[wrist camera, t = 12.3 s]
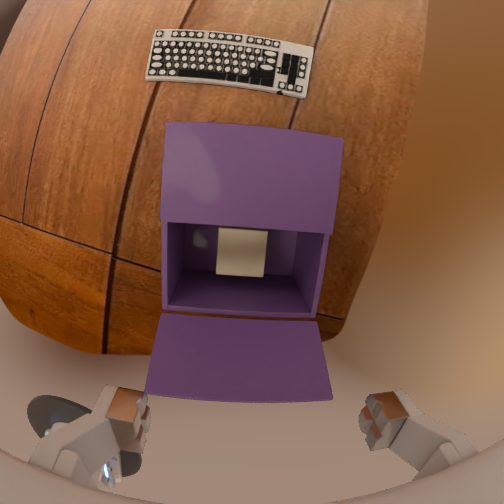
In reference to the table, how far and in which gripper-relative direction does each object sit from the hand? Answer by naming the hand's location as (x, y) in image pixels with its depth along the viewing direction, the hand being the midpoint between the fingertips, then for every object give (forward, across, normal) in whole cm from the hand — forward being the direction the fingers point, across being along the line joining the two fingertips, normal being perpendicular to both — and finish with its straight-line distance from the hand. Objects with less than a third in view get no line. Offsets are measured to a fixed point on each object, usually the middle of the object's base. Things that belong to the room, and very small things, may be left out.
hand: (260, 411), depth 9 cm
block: (+23, 0, 0) cm, 23 cm away
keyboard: (+24, -3, +20) cm, 31 cm away
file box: (+24, 0, +4) cm, 24 cm away
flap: (+10, 0, -5) cm, 11 cm away
